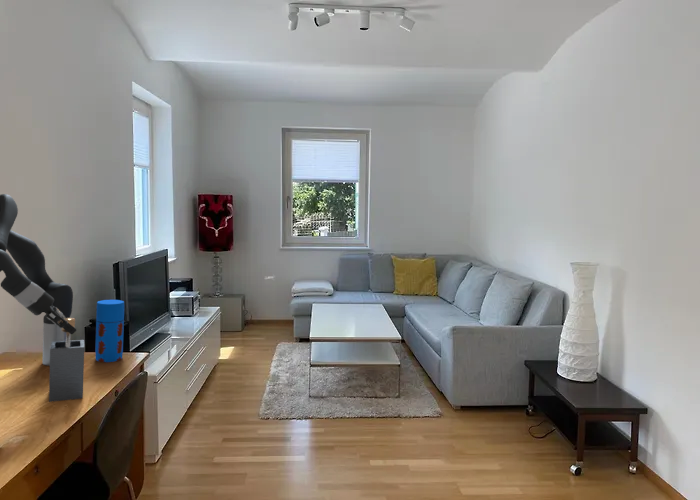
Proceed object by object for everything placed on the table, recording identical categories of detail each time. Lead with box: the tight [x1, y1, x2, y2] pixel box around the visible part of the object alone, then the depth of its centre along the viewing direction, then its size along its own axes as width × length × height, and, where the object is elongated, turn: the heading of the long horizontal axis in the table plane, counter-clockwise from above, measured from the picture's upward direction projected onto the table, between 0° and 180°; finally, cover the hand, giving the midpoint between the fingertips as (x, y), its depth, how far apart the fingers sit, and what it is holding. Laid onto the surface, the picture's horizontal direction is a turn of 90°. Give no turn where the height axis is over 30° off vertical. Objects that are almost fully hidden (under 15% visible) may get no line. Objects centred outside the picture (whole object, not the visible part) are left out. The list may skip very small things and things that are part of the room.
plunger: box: [62, 317, 76, 347], centre depth 169 cm, size 7×7×26 cm
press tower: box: [48, 339, 85, 403], centre depth 170 cm, size 10×10×18 cm
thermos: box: [94, 299, 125, 363], centre depth 212 cm, size 11×11×25 cm
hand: (72, 329), depth 170 cm, fingers open, 8 cm apart
